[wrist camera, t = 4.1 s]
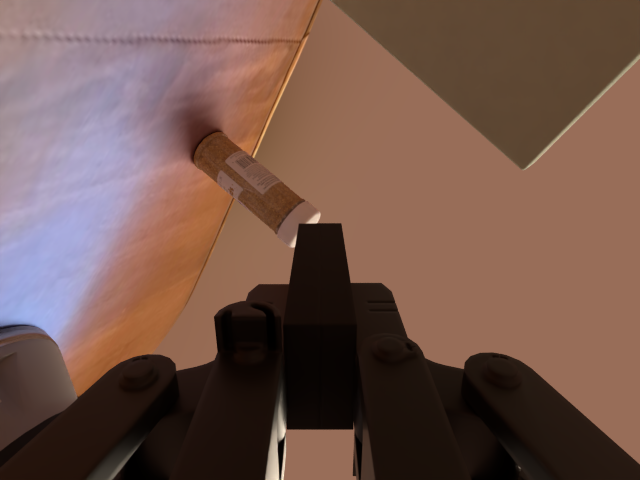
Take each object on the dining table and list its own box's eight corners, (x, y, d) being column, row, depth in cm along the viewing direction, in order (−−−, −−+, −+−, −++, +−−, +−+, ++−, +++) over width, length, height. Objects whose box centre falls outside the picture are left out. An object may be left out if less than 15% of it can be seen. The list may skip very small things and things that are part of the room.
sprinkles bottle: (184, 167, 41) (284, 253, 38) (205, 127, 39) (310, 216, 37) (212, 166, 45) (303, 244, 42) (232, 131, 43) (328, 210, 41)
